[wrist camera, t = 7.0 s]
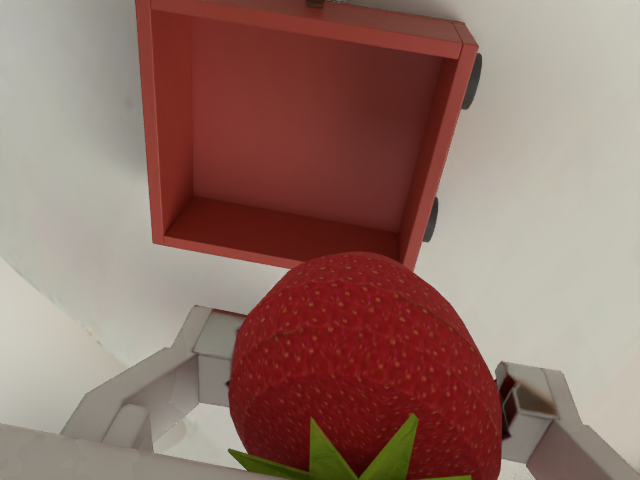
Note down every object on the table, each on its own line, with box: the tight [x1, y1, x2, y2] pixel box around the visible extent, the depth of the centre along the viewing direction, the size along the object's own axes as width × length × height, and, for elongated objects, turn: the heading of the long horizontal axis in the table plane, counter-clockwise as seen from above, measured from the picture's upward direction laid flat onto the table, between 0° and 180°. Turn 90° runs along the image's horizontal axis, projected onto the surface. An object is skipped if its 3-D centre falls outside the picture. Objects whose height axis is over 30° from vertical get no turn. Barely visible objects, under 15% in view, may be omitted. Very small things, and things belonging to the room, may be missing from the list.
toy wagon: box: [135, 0, 482, 272], centre depth 26 cm, size 17×17×6 cm
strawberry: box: [228, 251, 502, 480], centre depth 12 cm, size 6×8×10 cm
